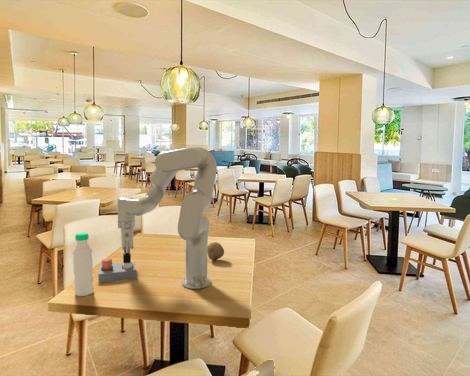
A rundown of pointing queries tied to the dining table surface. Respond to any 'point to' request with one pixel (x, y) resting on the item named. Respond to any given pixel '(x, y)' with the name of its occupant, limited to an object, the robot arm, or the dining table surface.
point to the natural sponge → (215, 251)
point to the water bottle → (83, 266)
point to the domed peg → (127, 265)
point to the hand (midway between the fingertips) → (127, 262)
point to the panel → (116, 273)
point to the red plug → (106, 264)
